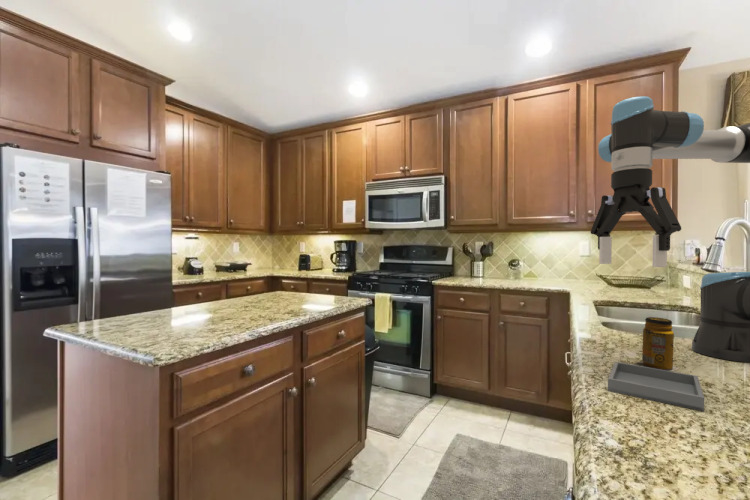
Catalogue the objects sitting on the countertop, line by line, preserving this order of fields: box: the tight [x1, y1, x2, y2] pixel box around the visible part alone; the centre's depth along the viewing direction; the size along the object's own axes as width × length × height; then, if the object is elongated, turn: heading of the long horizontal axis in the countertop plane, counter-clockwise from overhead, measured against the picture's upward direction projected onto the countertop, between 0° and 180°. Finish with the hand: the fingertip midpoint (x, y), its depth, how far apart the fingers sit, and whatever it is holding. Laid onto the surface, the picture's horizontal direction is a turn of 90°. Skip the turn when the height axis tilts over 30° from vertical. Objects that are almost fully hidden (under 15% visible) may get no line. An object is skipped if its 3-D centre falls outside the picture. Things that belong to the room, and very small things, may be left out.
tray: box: [607, 361, 705, 412], centre depth 76 cm, size 15×15×2 cm
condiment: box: [632, 316, 680, 372], centre depth 90 cm, size 7×8×12 cm
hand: (630, 265), depth 82 cm, fingers open, 13 cm apart
